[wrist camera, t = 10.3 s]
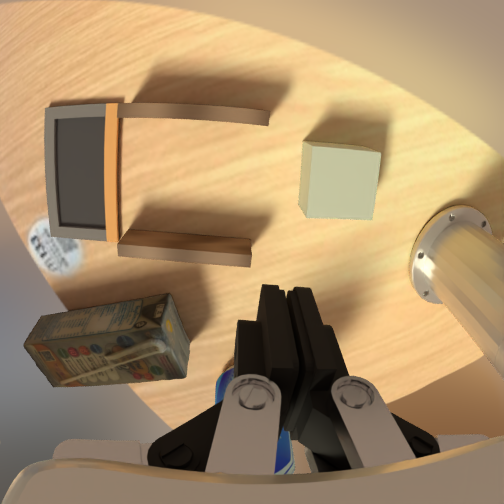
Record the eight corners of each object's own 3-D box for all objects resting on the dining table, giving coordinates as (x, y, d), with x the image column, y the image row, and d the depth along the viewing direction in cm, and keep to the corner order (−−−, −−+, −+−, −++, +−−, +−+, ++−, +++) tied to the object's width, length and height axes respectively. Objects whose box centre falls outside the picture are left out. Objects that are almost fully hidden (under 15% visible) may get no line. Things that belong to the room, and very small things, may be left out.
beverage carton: (194, 344, 37) (188, 386, 31) (67, 358, 38) (50, 392, 32) (172, 289, 34) (161, 328, 28) (39, 312, 35) (17, 345, 29)
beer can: (278, 352, 38) (297, 469, 24) (283, 394, 42) (298, 497, 27) (210, 360, 38) (203, 477, 24) (222, 401, 42) (222, 504, 27)
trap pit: (120, 103, 25) (118, 103, 25) (119, 239, 31) (117, 242, 30) (48, 107, 24) (45, 107, 24) (53, 234, 30) (51, 236, 30)
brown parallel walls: (266, 110, 26) (270, 111, 23) (248, 250, 32) (250, 267, 29) (130, 102, 25) (117, 103, 22) (128, 240, 31) (118, 256, 28)
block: (363, 146, 28) (381, 152, 25) (356, 206, 31) (372, 220, 27) (302, 140, 28) (312, 146, 24) (297, 203, 30) (306, 218, 27)
